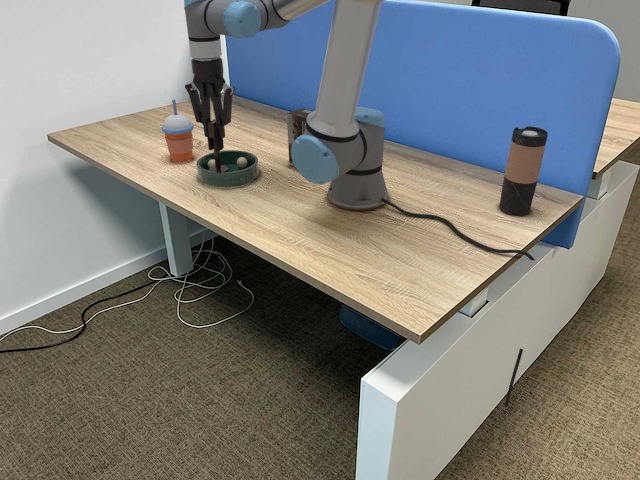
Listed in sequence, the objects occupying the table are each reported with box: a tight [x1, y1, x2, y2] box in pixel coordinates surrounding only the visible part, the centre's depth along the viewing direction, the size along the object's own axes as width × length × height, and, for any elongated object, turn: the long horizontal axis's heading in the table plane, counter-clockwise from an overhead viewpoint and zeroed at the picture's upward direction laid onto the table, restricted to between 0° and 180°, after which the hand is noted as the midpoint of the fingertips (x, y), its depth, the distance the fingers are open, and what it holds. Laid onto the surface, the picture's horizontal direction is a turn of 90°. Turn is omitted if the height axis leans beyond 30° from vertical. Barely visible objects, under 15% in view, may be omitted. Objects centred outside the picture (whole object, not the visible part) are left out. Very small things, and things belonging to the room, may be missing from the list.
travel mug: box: [499, 125, 549, 217], centre depth 124 cm, size 8×8×20 cm
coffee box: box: [286, 107, 314, 168], centre depth 148 cm, size 9×6×16 cm
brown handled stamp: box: [208, 118, 228, 172], centre depth 140 cm, size 5×5×16 cm
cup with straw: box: [161, 99, 194, 163], centre depth 152 cm, size 9×9×18 cm
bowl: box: [196, 149, 260, 188], centre depth 145 cm, size 17×17×4 cm
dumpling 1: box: [208, 159, 215, 168], centre depth 148 cm, size 3×3×3 cm
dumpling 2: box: [237, 157, 247, 168], centre depth 150 cm, size 3×3×3 cm
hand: (216, 148), depth 140 cm, fingers closed on brown handled stamp, 2 cm apart
